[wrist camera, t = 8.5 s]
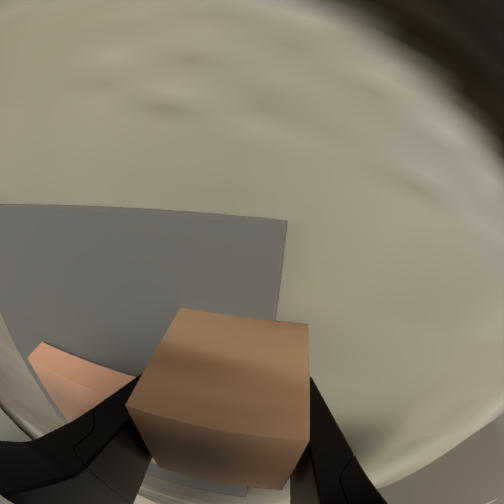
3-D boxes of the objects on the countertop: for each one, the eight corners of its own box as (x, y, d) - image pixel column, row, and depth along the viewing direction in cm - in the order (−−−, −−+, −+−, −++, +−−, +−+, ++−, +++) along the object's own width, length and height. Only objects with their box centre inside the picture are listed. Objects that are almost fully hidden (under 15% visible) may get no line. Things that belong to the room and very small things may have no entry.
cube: (289, 399, 10) (281, 490, 6) (190, 385, 10) (158, 467, 7) (308, 324, 8) (309, 439, 5) (180, 307, 9) (125, 404, 5)
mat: (246, 492, 18) (245, 497, 17) (88, 445, 19) (86, 448, 19) (287, 220, 8) (286, 226, 7) (-24, 204, 9) (-30, 207, 9)
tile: (171, 468, 12) (142, 407, 9) (74, 430, 13) (27, 357, 10) (178, 447, 13) (157, 378, 11) (85, 413, 14) (44, 339, 11)
